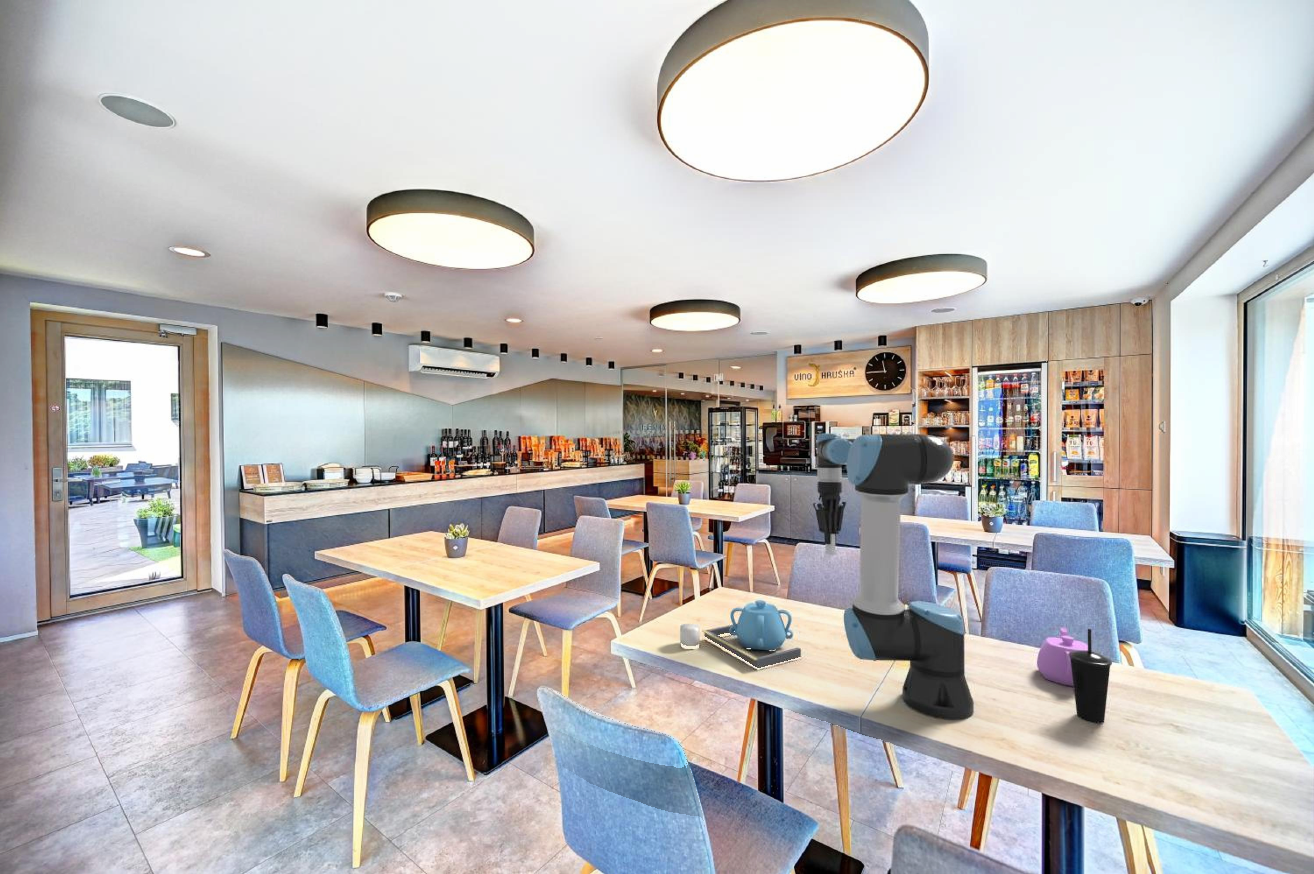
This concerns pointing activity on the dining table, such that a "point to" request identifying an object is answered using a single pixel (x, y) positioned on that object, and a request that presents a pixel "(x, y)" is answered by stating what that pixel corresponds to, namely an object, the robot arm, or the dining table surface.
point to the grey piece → (747, 656)
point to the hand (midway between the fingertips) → (830, 553)
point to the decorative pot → (761, 626)
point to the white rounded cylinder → (690, 634)
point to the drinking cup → (1090, 682)
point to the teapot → (1058, 658)
